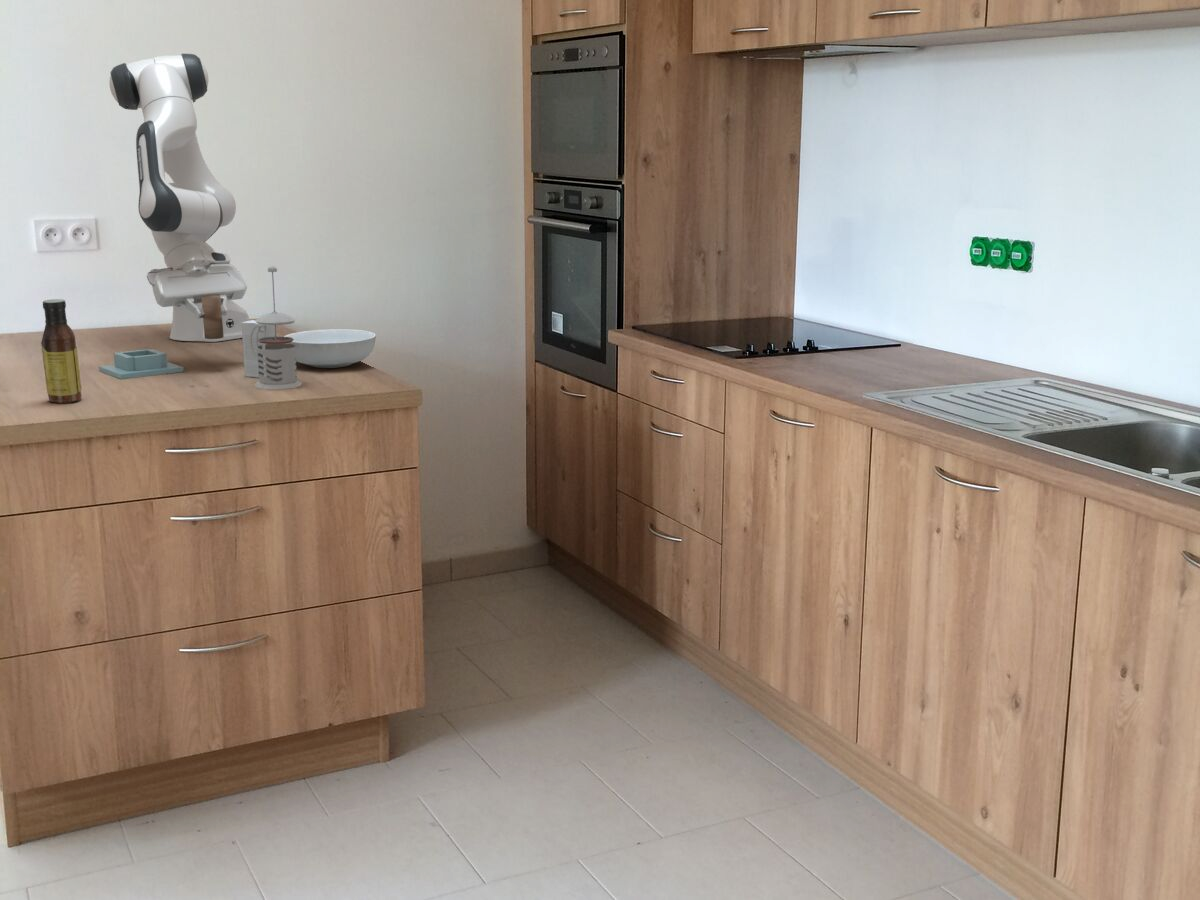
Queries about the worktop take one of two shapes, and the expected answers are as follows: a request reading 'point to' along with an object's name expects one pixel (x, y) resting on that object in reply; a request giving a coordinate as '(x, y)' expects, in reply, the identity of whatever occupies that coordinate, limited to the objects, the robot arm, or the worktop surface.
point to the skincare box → (254, 345)
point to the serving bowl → (332, 347)
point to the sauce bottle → (60, 355)
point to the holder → (140, 364)
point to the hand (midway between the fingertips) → (212, 315)
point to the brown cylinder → (212, 317)
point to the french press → (276, 352)
